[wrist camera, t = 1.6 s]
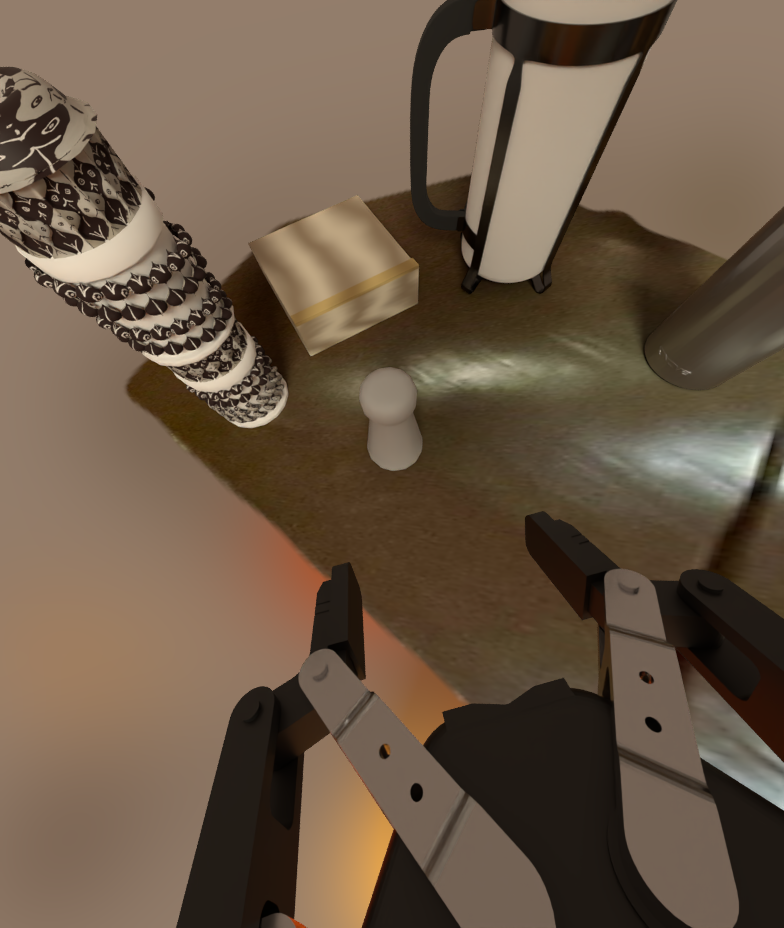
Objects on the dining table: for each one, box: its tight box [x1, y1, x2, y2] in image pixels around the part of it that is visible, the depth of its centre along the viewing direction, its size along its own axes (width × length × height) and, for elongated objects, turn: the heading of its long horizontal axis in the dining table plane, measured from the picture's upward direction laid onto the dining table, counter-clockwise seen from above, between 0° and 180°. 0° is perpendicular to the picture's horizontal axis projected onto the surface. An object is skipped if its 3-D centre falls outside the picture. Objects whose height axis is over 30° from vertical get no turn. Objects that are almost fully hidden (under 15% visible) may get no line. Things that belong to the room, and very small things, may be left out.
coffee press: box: [410, 0, 677, 294], centre depth 27 cm, size 17×16×30 cm
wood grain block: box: [249, 195, 419, 356], centre depth 39 cm, size 16×16×5 cm
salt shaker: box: [359, 367, 423, 471], centre depth 27 cm, size 6×6×13 cm
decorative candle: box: [0, 67, 288, 428], centre depth 25 cm, size 9×9×25 cm
